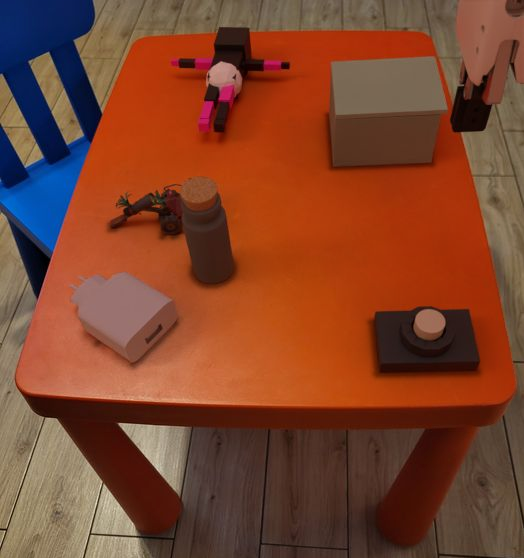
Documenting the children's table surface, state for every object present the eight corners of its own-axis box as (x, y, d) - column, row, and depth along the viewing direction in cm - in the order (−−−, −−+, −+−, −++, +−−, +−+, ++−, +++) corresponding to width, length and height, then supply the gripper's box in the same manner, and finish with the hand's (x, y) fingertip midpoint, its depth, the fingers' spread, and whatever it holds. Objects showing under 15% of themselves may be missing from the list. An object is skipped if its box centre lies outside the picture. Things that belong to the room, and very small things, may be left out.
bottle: (233, 284, 86) (220, 205, 73) (191, 284, 86) (172, 206, 74) (234, 252, 89) (223, 172, 77) (195, 253, 90) (177, 173, 77)
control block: (465, 318, 80) (472, 300, 77) (476, 370, 76) (483, 353, 73) (373, 321, 81) (376, 302, 78) (379, 372, 77) (382, 355, 73)
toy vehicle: (209, 218, 90) (179, 185, 84) (128, 257, 95) (95, 228, 89) (208, 187, 93) (179, 153, 88) (130, 226, 99) (98, 196, 93)
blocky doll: (294, 59, 115) (293, 25, 109) (277, 146, 102) (275, 113, 96) (181, 56, 118) (175, 23, 112) (151, 141, 104) (142, 108, 99)
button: (440, 316, 76) (443, 308, 75) (444, 340, 74) (447, 332, 73) (411, 317, 77) (413, 309, 75) (415, 341, 75) (417, 333, 73)
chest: (420, 109, 104) (428, 61, 97) (431, 162, 97) (441, 115, 90) (329, 113, 105) (330, 66, 98) (333, 166, 98) (335, 119, 91)
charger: (103, 271, 89) (179, 318, 83) (56, 313, 85) (133, 365, 79) (93, 249, 85) (173, 297, 79) (44, 291, 81) (124, 345, 76)
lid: (434, 60, 97) (434, 55, 96) (447, 114, 90) (448, 109, 89) (330, 66, 98) (331, 61, 97) (335, 119, 91) (335, 114, 90)
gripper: (604, -39, 41) (522, 177, 56) (549, -130, 49) (490, 80, 64) (489, -32, 41) (439, 180, 56) (453, -124, 49) (418, 83, 64)
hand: (466, 126), depth 60 cm, fingers closed
